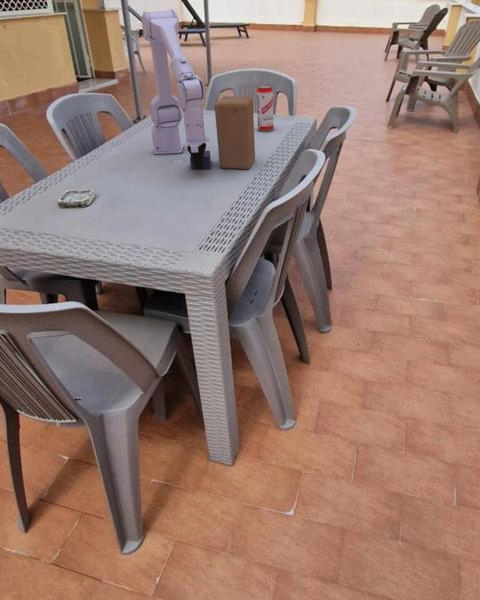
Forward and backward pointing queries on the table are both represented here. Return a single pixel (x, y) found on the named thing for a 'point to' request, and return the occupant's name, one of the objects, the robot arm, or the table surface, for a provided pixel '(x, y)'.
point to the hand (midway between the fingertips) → (199, 168)
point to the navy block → (205, 161)
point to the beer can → (265, 108)
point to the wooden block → (235, 132)
